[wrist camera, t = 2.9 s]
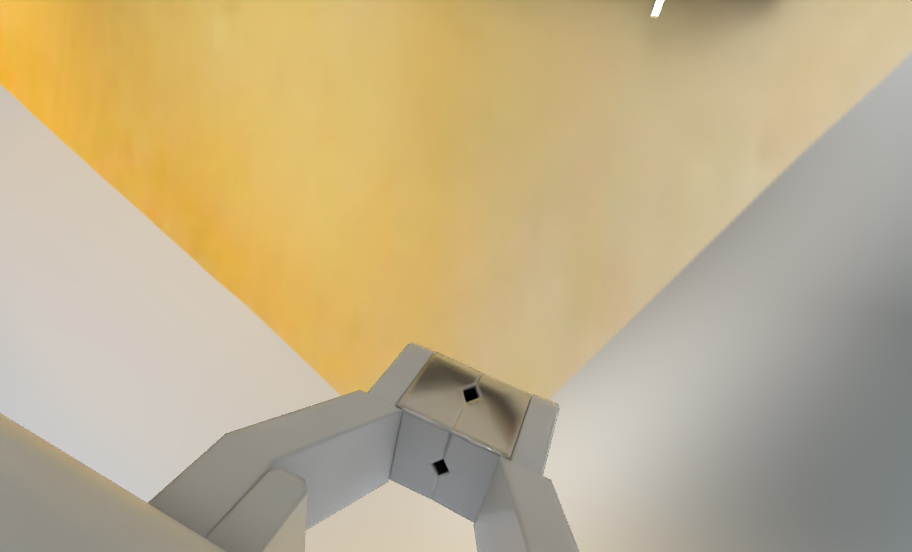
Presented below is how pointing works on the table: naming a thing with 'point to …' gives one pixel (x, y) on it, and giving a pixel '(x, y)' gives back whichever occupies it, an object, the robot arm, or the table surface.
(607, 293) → the table surface
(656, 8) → the hot plate
